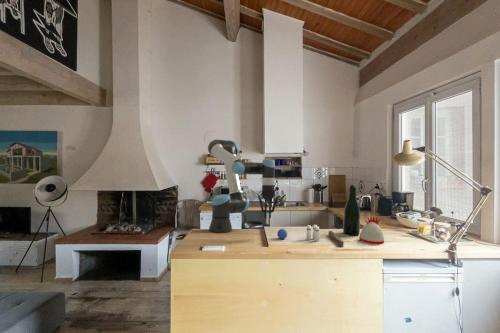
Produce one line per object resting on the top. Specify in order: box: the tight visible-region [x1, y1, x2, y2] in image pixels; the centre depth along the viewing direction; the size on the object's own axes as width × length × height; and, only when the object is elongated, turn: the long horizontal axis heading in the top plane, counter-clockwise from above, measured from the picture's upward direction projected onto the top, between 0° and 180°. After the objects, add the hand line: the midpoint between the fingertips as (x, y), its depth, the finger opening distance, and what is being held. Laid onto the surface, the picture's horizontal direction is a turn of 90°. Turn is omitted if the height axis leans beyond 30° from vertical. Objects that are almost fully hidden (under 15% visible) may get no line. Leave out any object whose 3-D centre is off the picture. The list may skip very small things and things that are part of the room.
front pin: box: [306, 224, 312, 241], centre depth 167 cm, size 2×2×8 cm
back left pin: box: [312, 224, 318, 240], centre depth 170 cm, size 2×2×8 cm
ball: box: [277, 228, 288, 240], centre depth 168 cm, size 6×6×6 cm
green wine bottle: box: [342, 184, 361, 236], centre depth 185 cm, size 10×10×33 cm
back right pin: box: [313, 226, 320, 243], centre depth 165 cm, size 2×2×8 cm
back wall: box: [328, 230, 344, 248], centre depth 167 cm, size 2×24×3 cm, turn 179°
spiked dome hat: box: [359, 216, 385, 245], centre depth 169 cm, size 14×14×15 cm
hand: (267, 223), depth 167 cm, fingers closed
